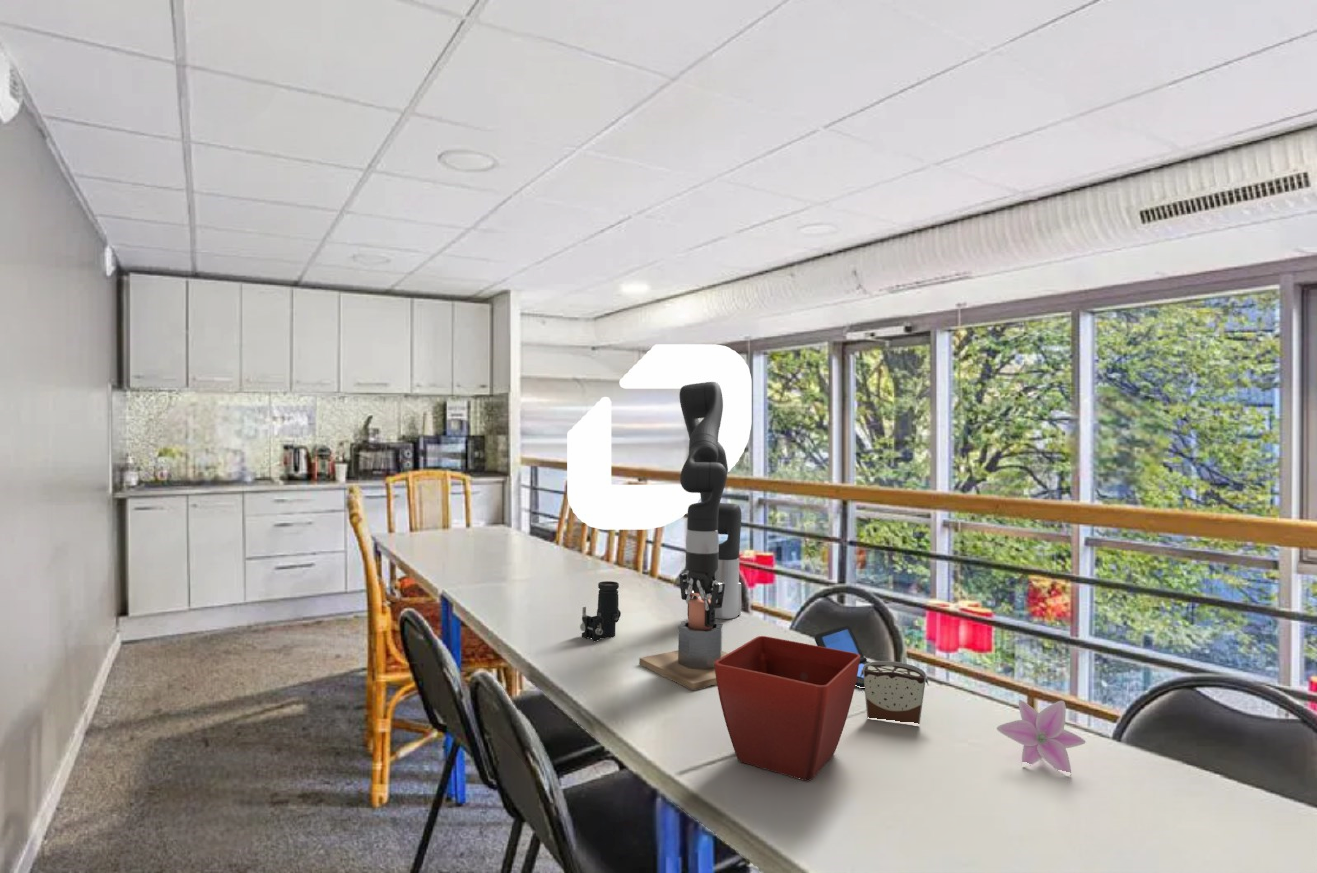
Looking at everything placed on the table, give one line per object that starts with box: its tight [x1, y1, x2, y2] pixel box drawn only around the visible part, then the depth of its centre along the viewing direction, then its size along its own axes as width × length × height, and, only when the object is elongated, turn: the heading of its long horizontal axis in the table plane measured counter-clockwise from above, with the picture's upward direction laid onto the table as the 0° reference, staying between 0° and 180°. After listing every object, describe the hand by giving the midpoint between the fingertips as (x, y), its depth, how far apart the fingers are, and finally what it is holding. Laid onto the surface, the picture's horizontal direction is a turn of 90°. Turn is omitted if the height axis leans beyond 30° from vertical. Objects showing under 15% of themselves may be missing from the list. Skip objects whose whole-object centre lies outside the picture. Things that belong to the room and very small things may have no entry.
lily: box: [996, 699, 1087, 774], centre depth 121 cm, size 12×12×10 cm
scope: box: [579, 580, 622, 642], centre depth 189 cm, size 8×14×10 cm
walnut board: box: [638, 649, 730, 691], centre depth 165 cm, size 20×20×2 cm
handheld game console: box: [814, 624, 870, 687], centre depth 163 cm, size 16×13×9 cm
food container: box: [860, 660, 930, 724], centre depth 139 cm, size 12×6×10 cm, turn 71°
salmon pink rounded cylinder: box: [687, 597, 713, 630], centre depth 165 cm, size 6×6×6 cm
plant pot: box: [714, 635, 860, 781], centre depth 120 cm, size 19×19×17 cm
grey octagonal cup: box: [677, 620, 723, 670], centre depth 165 cm, size 10×10×8 cm
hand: (700, 622), depth 165 cm, fingers closed on salmon pink rounded cylinder, 5 cm apart
